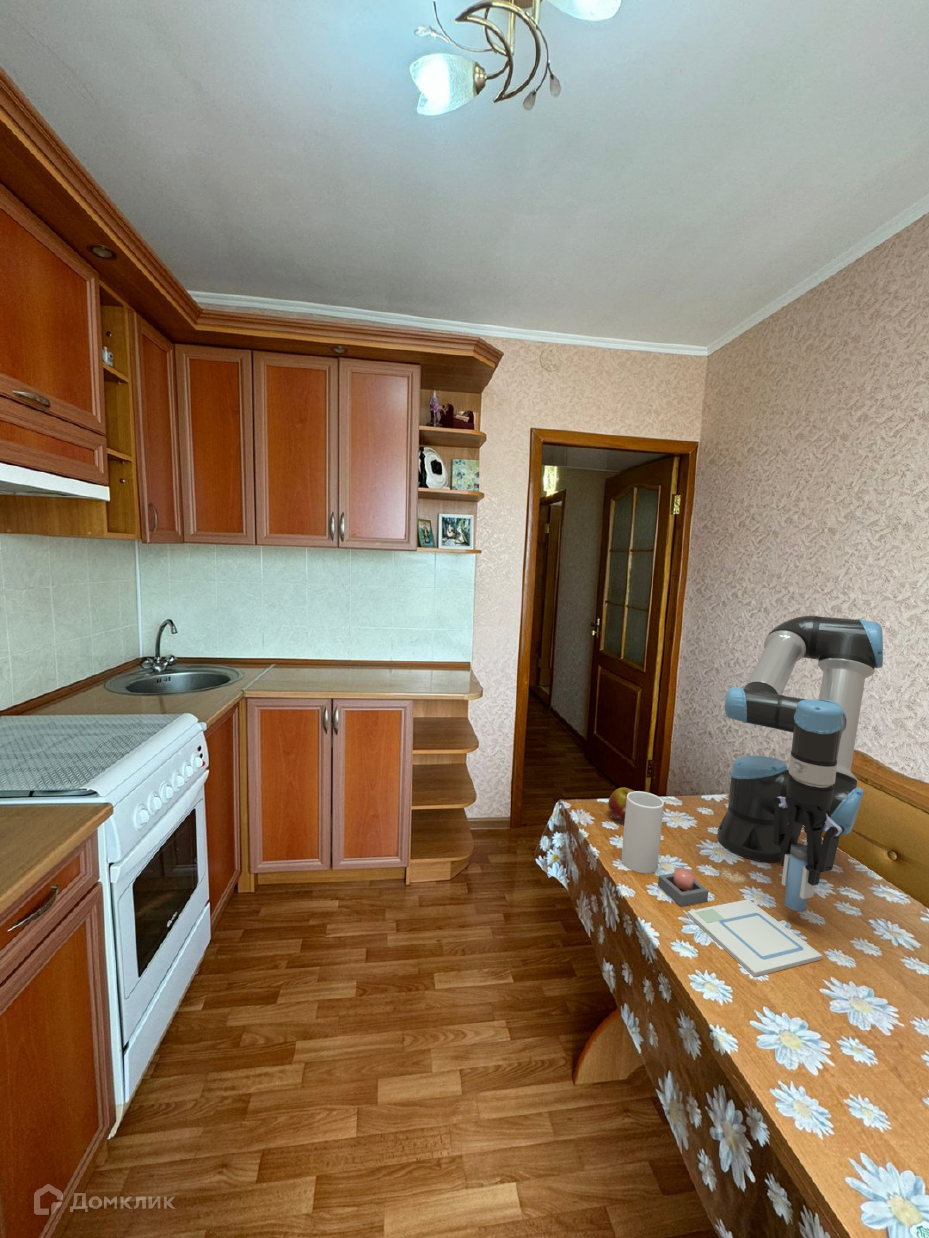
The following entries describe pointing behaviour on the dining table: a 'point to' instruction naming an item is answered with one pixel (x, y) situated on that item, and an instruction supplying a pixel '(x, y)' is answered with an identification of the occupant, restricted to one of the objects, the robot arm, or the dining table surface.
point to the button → (683, 878)
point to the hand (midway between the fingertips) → (797, 889)
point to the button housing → (683, 898)
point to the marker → (796, 877)
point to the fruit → (619, 802)
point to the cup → (642, 831)
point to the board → (753, 937)
